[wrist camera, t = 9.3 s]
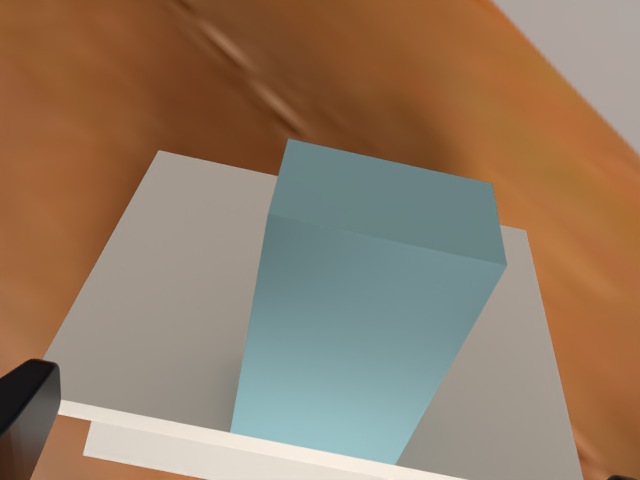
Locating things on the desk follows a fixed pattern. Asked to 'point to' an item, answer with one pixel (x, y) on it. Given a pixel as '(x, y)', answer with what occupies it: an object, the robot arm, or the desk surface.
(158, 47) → the desk surface
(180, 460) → the carton
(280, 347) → the flap
